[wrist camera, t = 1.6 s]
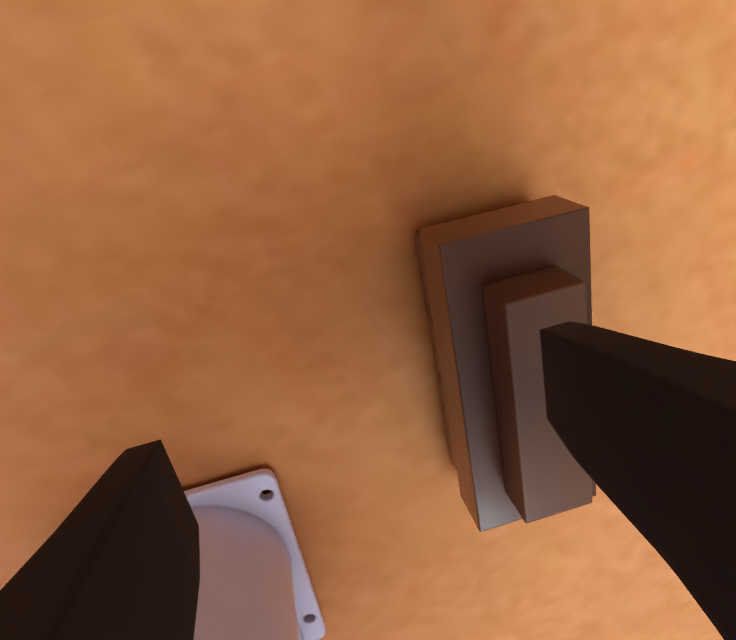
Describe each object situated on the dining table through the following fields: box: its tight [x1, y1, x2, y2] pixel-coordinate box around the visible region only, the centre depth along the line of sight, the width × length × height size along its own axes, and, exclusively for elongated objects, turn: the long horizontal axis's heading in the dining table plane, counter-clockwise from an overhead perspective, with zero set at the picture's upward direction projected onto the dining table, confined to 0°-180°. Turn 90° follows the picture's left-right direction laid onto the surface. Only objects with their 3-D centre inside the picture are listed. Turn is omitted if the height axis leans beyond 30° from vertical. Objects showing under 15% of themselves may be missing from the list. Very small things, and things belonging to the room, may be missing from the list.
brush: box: [415, 195, 596, 532], centre depth 19 cm, size 11×5×5 cm, turn 11°
